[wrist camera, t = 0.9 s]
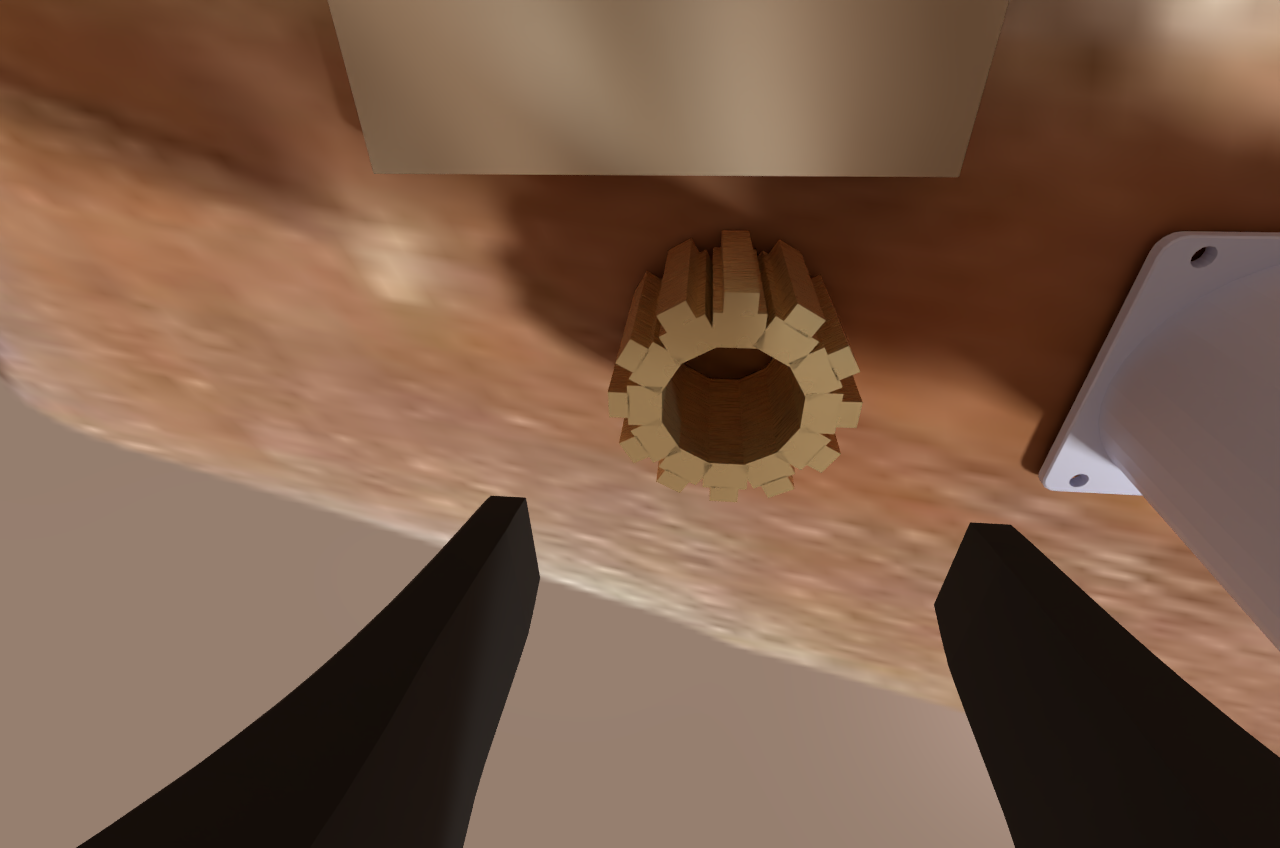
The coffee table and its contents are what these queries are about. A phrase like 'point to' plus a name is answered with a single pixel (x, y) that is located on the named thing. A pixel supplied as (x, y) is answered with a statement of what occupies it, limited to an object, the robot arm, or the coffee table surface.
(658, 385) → the brass gear
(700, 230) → the coffee table surface
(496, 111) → the gear board
